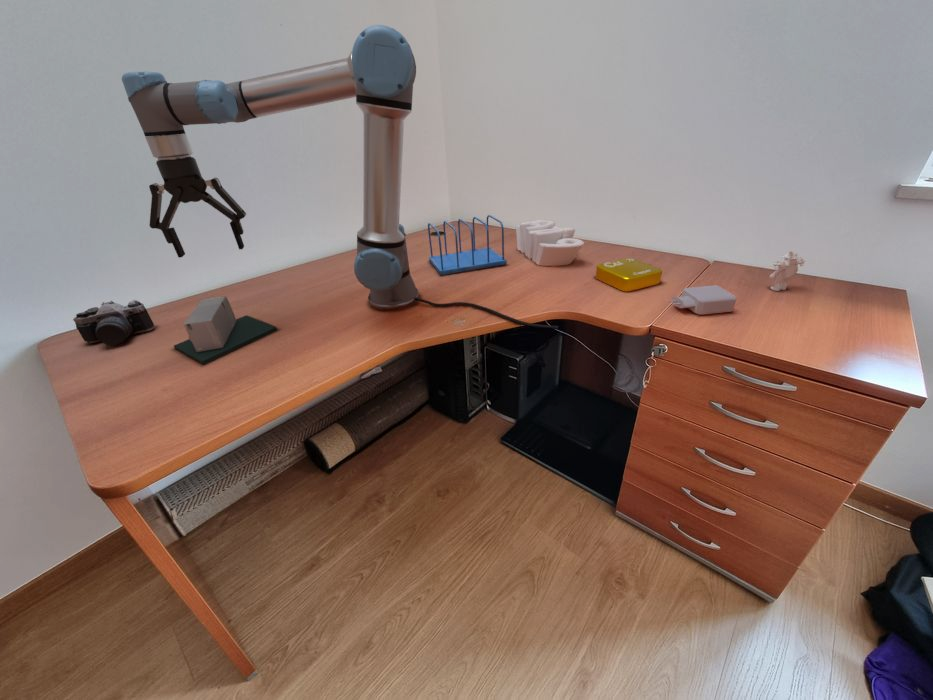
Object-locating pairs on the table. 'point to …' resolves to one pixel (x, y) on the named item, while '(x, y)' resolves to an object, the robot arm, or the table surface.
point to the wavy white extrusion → (547, 243)
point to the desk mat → (230, 339)
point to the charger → (706, 300)
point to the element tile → (628, 274)
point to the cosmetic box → (210, 324)
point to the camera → (113, 322)
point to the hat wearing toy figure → (786, 270)
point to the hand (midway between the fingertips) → (212, 251)
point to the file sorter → (466, 252)
